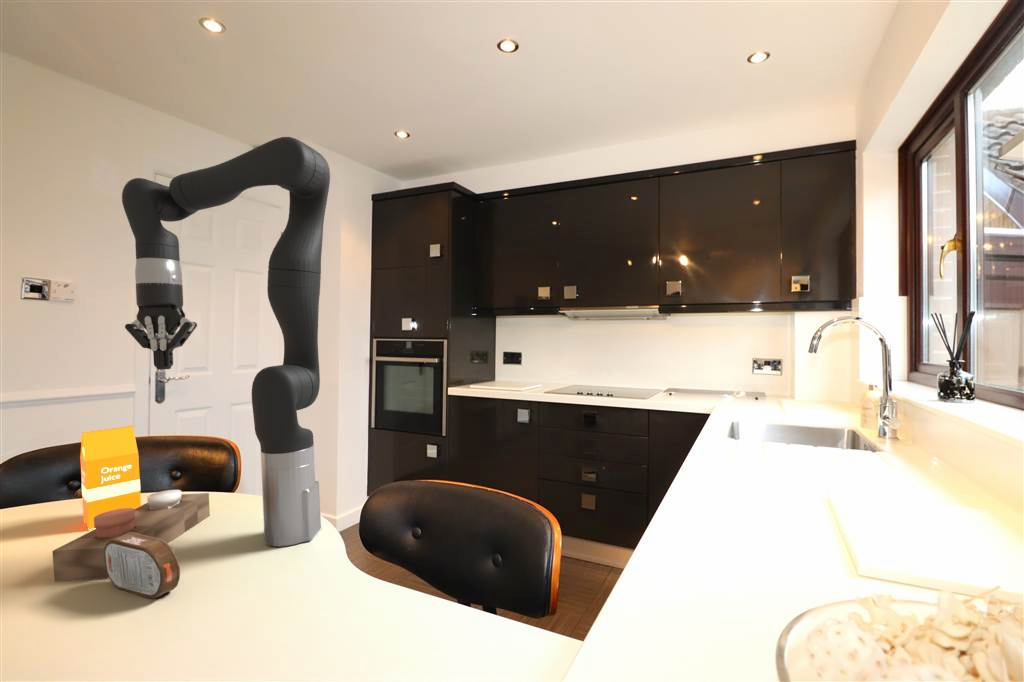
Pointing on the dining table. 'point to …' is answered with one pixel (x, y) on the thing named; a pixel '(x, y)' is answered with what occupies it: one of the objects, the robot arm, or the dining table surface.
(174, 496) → the white rounded piece
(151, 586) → the tin
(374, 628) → the dining table surface
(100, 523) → the brick plunger
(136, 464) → the orange juice
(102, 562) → the block
